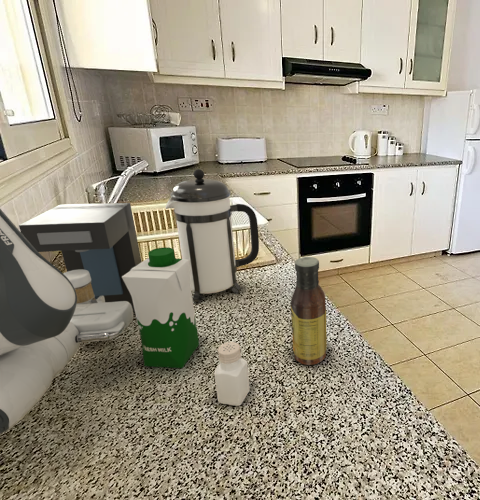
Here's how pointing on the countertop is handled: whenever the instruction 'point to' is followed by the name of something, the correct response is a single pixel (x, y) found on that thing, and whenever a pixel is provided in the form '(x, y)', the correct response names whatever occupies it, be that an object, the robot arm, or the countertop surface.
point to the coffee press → (209, 234)
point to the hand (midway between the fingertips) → (83, 300)
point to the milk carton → (164, 308)
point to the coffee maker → (90, 243)
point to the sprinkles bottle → (81, 285)
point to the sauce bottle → (308, 314)
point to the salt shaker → (231, 375)
